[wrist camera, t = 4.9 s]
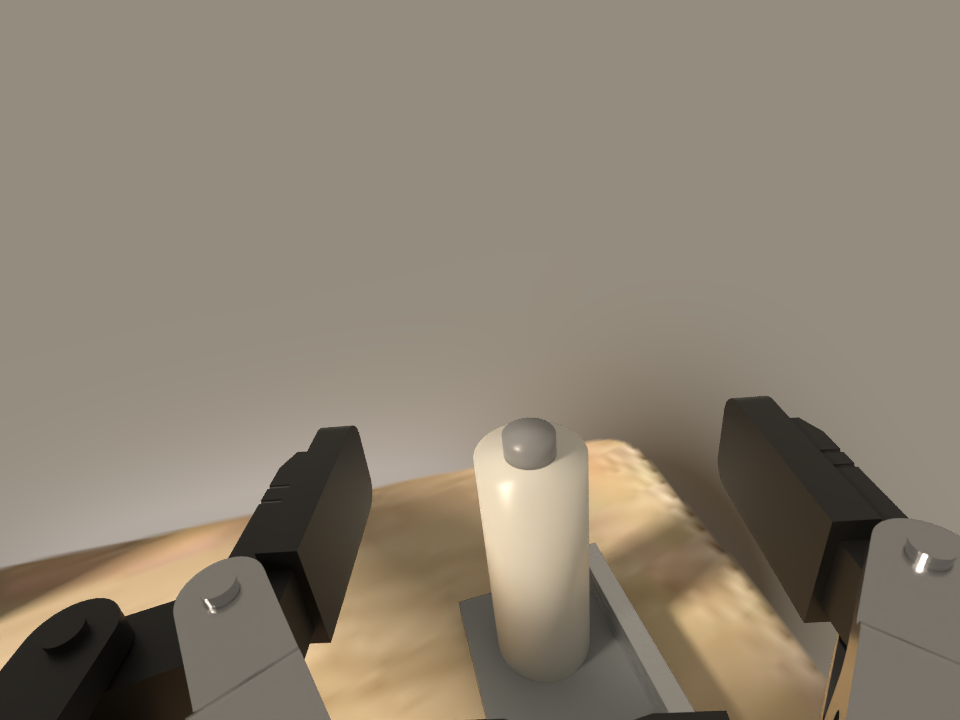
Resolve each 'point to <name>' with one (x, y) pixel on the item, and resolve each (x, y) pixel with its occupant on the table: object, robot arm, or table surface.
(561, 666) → the cream bottle
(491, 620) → the shelf board
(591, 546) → the rail
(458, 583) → the table surface
